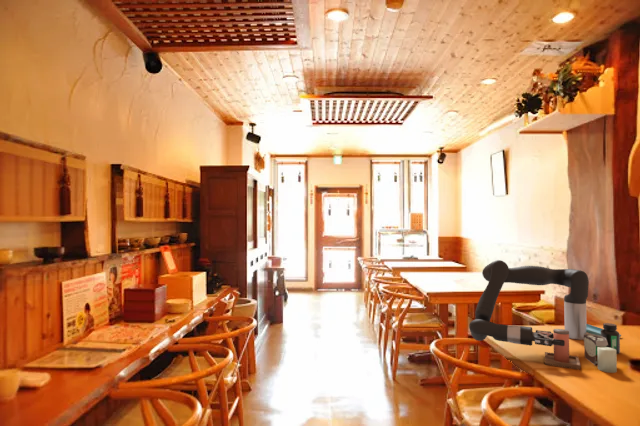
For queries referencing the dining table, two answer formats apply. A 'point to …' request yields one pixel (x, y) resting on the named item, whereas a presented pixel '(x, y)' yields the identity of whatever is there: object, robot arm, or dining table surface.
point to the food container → (593, 346)
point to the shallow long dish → (594, 330)
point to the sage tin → (607, 359)
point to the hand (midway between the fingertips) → (564, 340)
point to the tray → (572, 362)
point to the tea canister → (561, 351)
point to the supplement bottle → (611, 336)
